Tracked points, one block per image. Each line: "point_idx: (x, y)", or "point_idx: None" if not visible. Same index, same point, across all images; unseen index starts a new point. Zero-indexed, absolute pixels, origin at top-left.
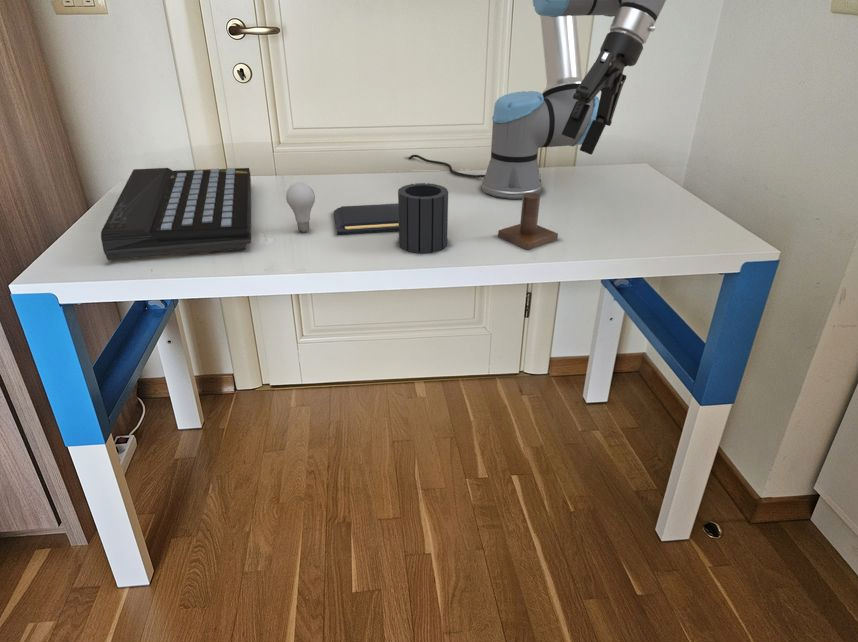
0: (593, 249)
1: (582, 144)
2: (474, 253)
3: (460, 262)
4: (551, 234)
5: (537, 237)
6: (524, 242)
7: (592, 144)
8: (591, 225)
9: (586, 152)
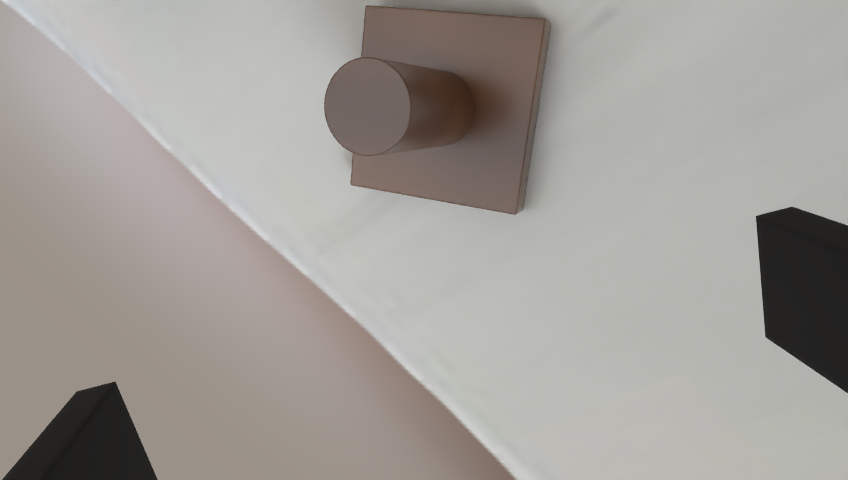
0: (543, 367)
1: (794, 240)
2: (218, 66)
3: (148, 87)
4: (485, 200)
5: (419, 177)
6: (352, 166)
7: (830, 352)
8: None
9: (765, 291)
